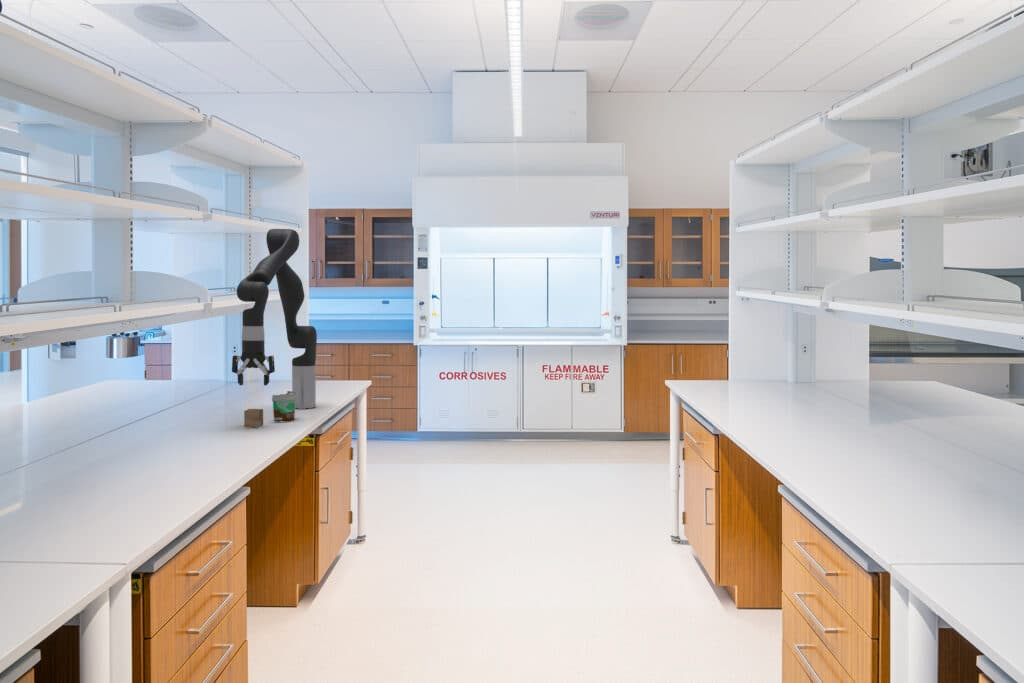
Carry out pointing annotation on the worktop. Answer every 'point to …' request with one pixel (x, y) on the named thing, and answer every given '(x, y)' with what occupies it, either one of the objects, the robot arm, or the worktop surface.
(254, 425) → the walnut block
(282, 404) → the food container
